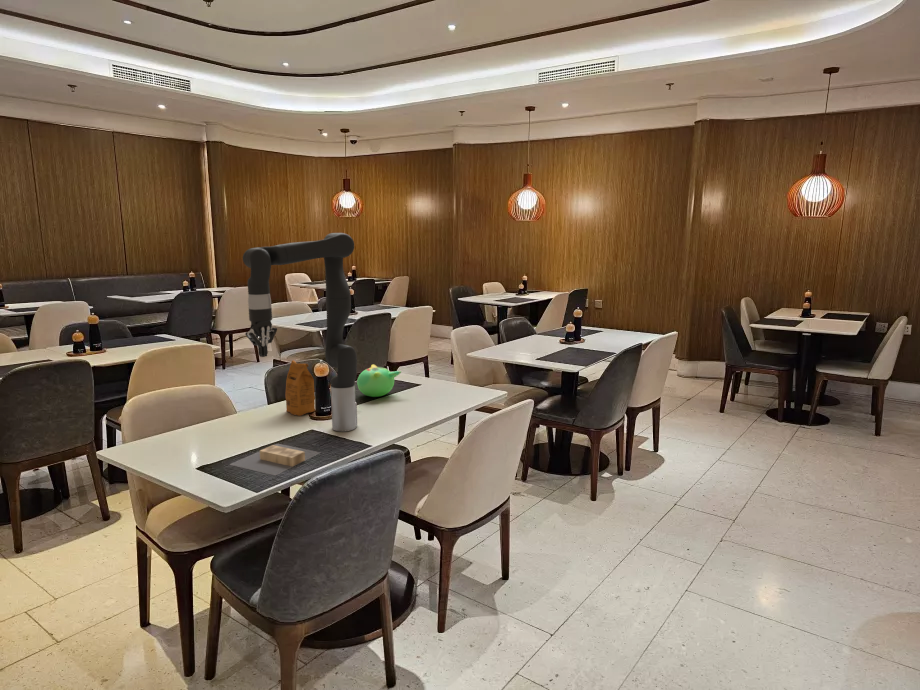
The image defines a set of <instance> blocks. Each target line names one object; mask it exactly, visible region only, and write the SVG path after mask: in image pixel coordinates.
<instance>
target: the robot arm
mask: <svg viewBox="0 0 920 690" xmlns="http://www.w3.org/2000/svg"><path fill="white" fill-rule="evenodd" d="M354 250H355V241H354V240H353V238H352V237H351V236H350V235H349V234H347V233H344V232H330V233H328V234H326V235H325V237H324V238H323V239H319V240H312V241H298V242H297V241H295V242H288V243H287V242H286V243H282V244H277V245H271V246H261V247H251V248H248V249H247V250H245V251H244V253H243V255H242V261H243V263H244V265H245V266H246V267H248V269H250V277H249V278H248V279H247V290H248V291H247V296H248V297H247V306H248V307H247V308H248V320H249V322H250V326H249V327H250V329H249V331H246V332H245V336H246V337H247V339H248V340H249V341H250V343H251V344H252V345H253V346H256V347H257V349H258V350H257V351H258V356H259V358H265V357H267V356H268V353H269V352H268V345H269V344H271V343H272V342H273V340H274V338H275V336H276V333H277V331H278V328H277V327H274V326H273V323H272V320H273V310H272V299H271V297H272V296H271V292H270V290H271V289H270V276H271V269H272V266H283V265H290V264H295V263H300V262H305V261H310V260H315V259H322V258H323V262H324V271H325V305H326V306H325V307H326V339H325V349H324V350H325V351H324V355H325V357H324V358H325V361H326V363H327V365H328V366H330V367H331V368H336V369H337V373H336V374H337V375H336V376H333V377H331V378H330V402H331V428H332V430H334V431H336V432H350V431H353V430H355V429H356V428H357V427H358V404H357V403H358V402H356V379H357V375H358V374H357V373H358V372H357V371H358V356H357V351H356V349H355V348H354V347H353V346H351V345H347V344H344V340H343V338H344V337H343V335H344V334H343V333H344V328H345V326H346V324H347V321H348V319H349V317H350V314H351V311H352V296H351V290H350V287H349V284H348V281H347V279H346V275H345V271H344V258H348V257H349V256H351V255H352V254H353V252H354Z"/></svg>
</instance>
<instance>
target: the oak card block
mask: <svg viewBox="0 0 920 690" xmlns="http://www.w3.org/2000/svg"><path fill="white" fill-rule="evenodd" d="M259 451H260V459H261V460H266V461H270V462H275V463H279V464H284V465H288V466H294V465H296V464H298V463H300V462H302V461H304V460H305V452H304V451H299V450H294V449H289V448H284V447H280V446H275V444H272V445H270V446H267V447H265V448H262V449H260V450H259ZM304 462H305V461H304ZM302 463H303V462H302ZM300 464H301V463H300ZM298 465H299V464H298ZM296 466H297V465H296ZM294 467H295V466H294Z"/></svg>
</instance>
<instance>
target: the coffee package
mask: <svg viewBox="0 0 920 690" xmlns="http://www.w3.org/2000/svg"><path fill="white" fill-rule="evenodd" d="M308 367H309V364H308V363H297V362H296V361H295V360H294V359H293V360H291V362H290V365H289V369H288V371H287V375H286V376H287V377H286V379H285V380H286V381H285V402H286V406H285V408H286V412H287V413H290V414H291V415H293V416H299V417H300V416H301V417H302V416H303V415H305V414H309V413H313V412H315V411H316V407H315V404H316V402H315V400H316V396H315V379H314V377H313V376H312V374H311V372H310V371H309V369H308Z"/></svg>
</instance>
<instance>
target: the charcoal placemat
mask: <svg viewBox="0 0 920 690" xmlns="http://www.w3.org/2000/svg"><path fill="white" fill-rule="evenodd" d="M274 445H275V446H280V447H284V448H289V449H294V450H299V451H304V452H305V460H304V461H302V462H300V463H298V464H296V465H294V466H288V465H284V464H279V463H275V462H270V461H266V460H261V459H260V450H259V451H256V452H254V453H252V454H250V455H248V456H244V457H243V458H240V459H238V460H236V461H234V462H231V463H229V464H228V465H229V466H232V467H236V468H237V467H238V468H241V469H245V470H250V471H253V472H258V473H263V474H266V475H271V476H278V475H279V474H281V473H284V472H286V471H287V470H290V469H292V468H294V467H295V466H297V465H300V464H302V463H304V462H305V461H308V460H310V459H311V458H314V457H315V456H317V455H320V454H321V453H322V452H320V451H315V450H311V449H307V448H306V449H305V448H301V447H297V446H291V445H288V444H287V445H286V444H281V443H275V444H274Z"/></svg>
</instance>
